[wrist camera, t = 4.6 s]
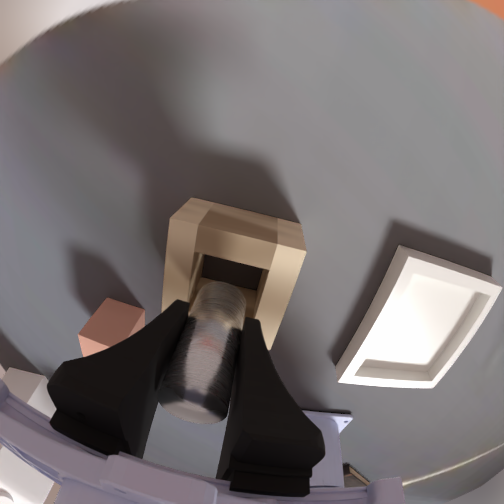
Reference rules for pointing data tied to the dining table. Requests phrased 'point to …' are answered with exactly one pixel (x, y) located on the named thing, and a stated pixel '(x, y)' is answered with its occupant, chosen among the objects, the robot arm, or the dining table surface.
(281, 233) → the bored block
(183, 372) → the cylinder
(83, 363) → the robot arm
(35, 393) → the milk
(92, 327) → the block
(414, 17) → the dining table surface
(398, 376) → the tray
